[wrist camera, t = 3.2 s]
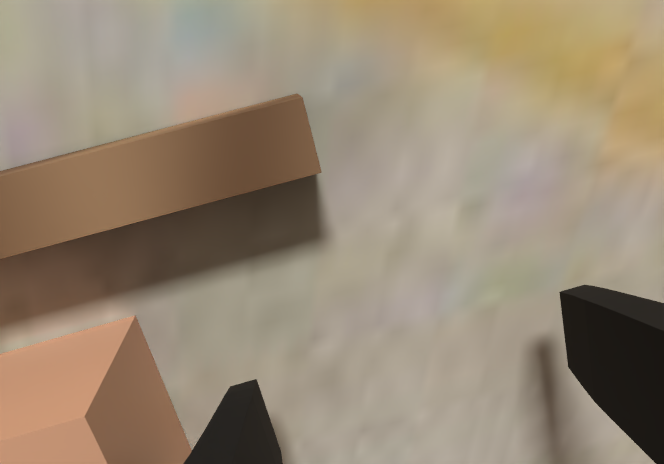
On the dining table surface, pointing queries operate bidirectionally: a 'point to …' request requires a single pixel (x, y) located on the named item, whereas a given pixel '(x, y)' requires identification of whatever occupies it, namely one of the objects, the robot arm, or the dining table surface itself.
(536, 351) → the dining table surface
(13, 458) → the block
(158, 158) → the channel
